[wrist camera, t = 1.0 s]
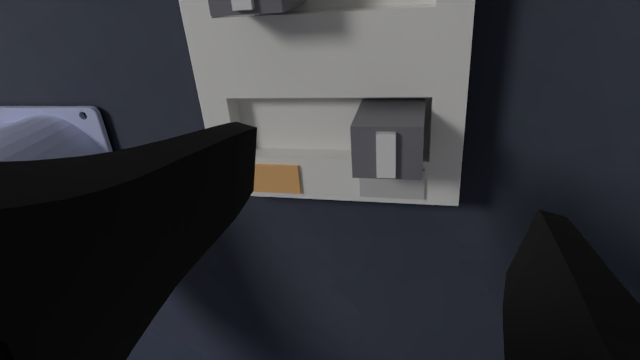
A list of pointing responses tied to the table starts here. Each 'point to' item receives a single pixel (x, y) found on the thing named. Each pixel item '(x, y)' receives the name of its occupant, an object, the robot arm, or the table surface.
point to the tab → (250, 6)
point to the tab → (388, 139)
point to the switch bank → (336, 89)
